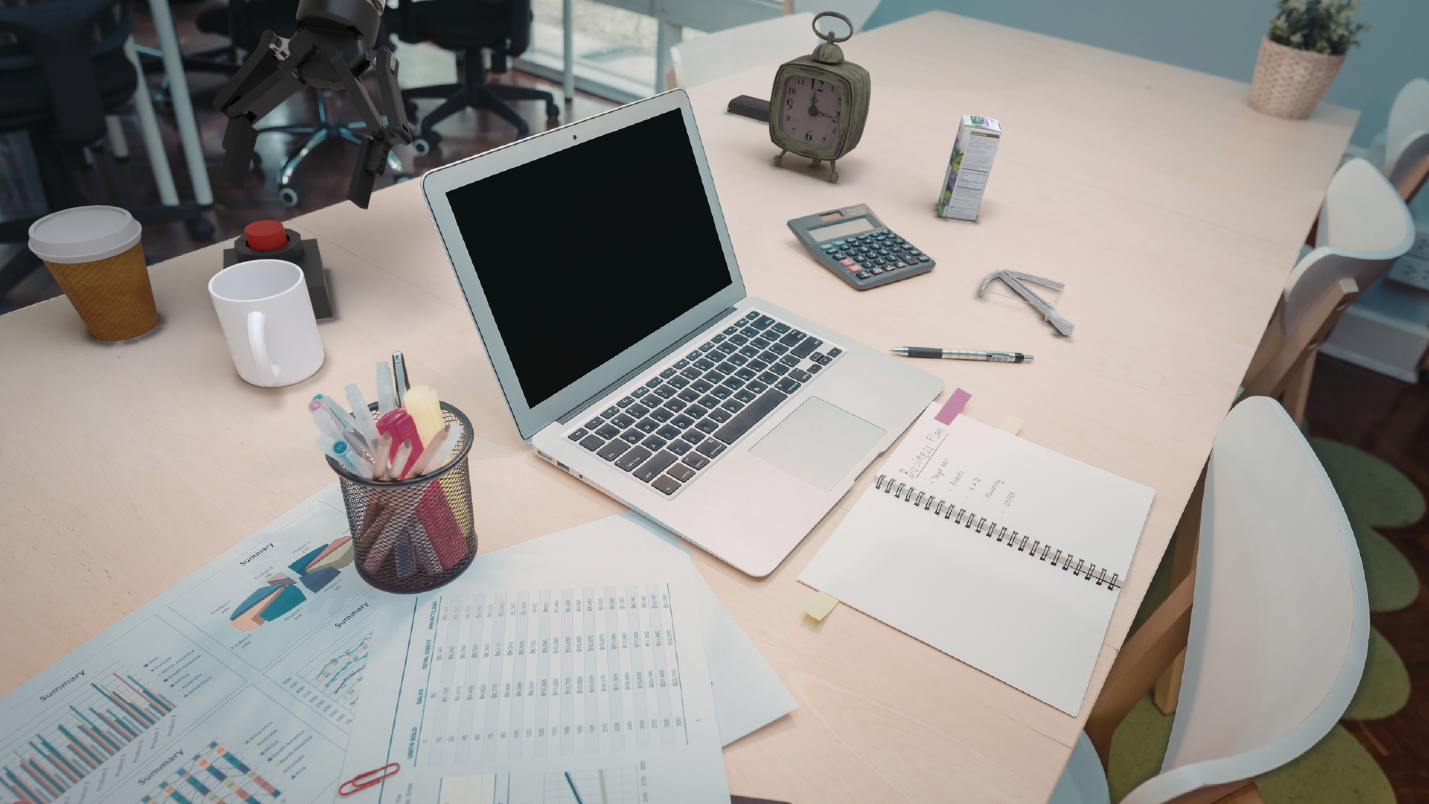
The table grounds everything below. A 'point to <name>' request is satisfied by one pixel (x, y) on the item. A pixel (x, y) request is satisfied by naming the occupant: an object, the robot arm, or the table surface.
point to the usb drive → (750, 107)
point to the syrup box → (969, 167)
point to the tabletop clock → (819, 102)
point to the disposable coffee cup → (99, 268)
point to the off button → (265, 235)
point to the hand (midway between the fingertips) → (293, 194)
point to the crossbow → (1033, 295)
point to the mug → (268, 321)
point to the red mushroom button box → (293, 252)
